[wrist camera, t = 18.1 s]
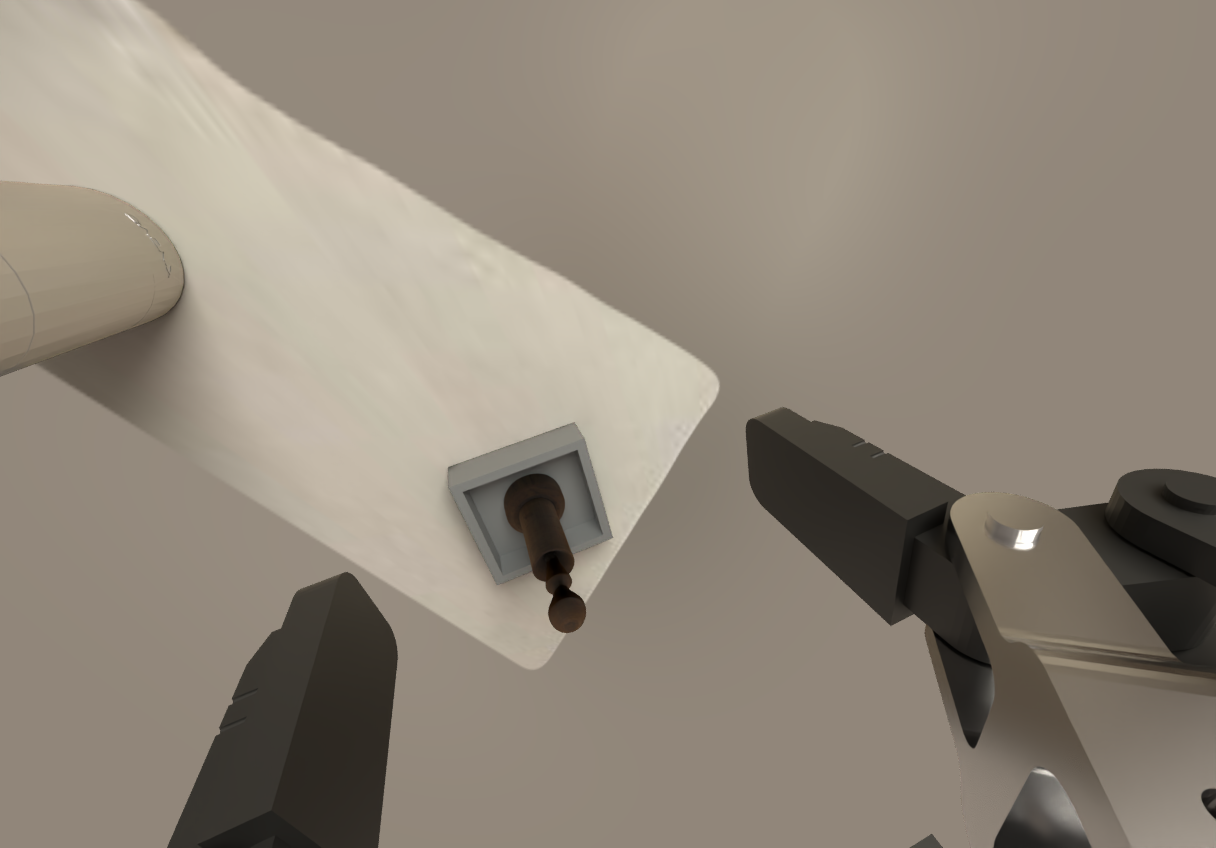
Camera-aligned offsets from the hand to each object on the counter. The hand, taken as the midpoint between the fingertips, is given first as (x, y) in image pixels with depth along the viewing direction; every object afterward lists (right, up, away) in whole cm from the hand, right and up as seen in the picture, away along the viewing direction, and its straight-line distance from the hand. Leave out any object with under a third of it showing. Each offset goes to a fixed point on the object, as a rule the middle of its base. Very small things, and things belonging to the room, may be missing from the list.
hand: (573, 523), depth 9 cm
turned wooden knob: (-8, -6, +42) cm, 43 cm away
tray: (-8, -6, +42) cm, 43 cm away
